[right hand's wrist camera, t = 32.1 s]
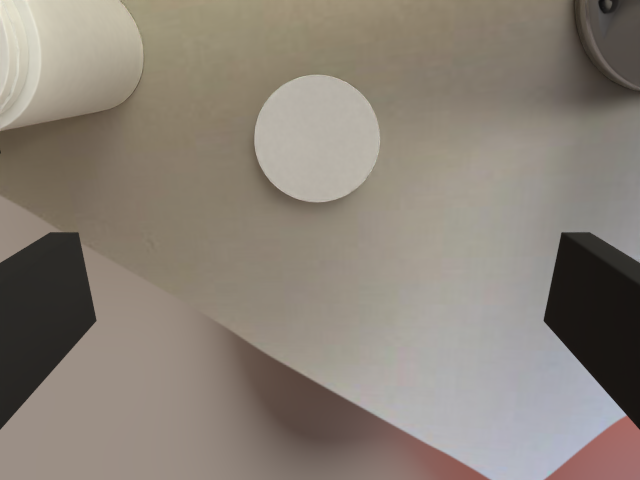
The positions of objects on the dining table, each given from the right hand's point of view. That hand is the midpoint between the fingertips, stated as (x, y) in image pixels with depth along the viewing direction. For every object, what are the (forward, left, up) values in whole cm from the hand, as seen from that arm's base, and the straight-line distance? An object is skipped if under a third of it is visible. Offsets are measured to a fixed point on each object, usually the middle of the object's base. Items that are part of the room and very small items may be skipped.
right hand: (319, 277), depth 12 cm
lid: (0, 0, -25) cm, 25 cm away
